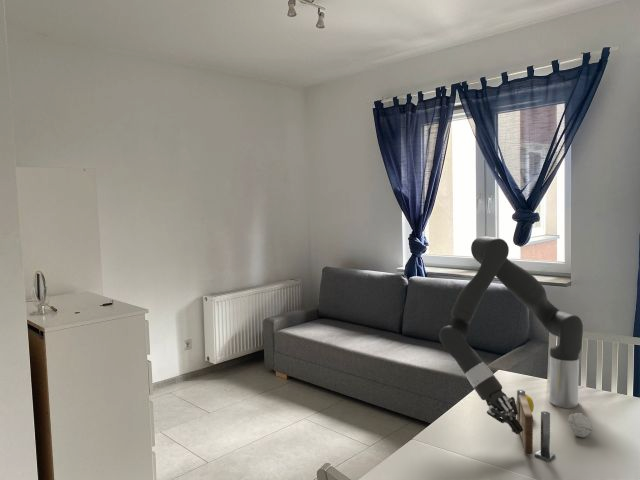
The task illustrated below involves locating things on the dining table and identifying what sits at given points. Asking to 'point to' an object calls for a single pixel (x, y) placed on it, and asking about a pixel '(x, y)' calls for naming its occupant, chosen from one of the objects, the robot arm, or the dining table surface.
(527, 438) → the gate
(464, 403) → the dining table surface
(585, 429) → the white lumpy piece
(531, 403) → the lemon
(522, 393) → the grey upright posts
